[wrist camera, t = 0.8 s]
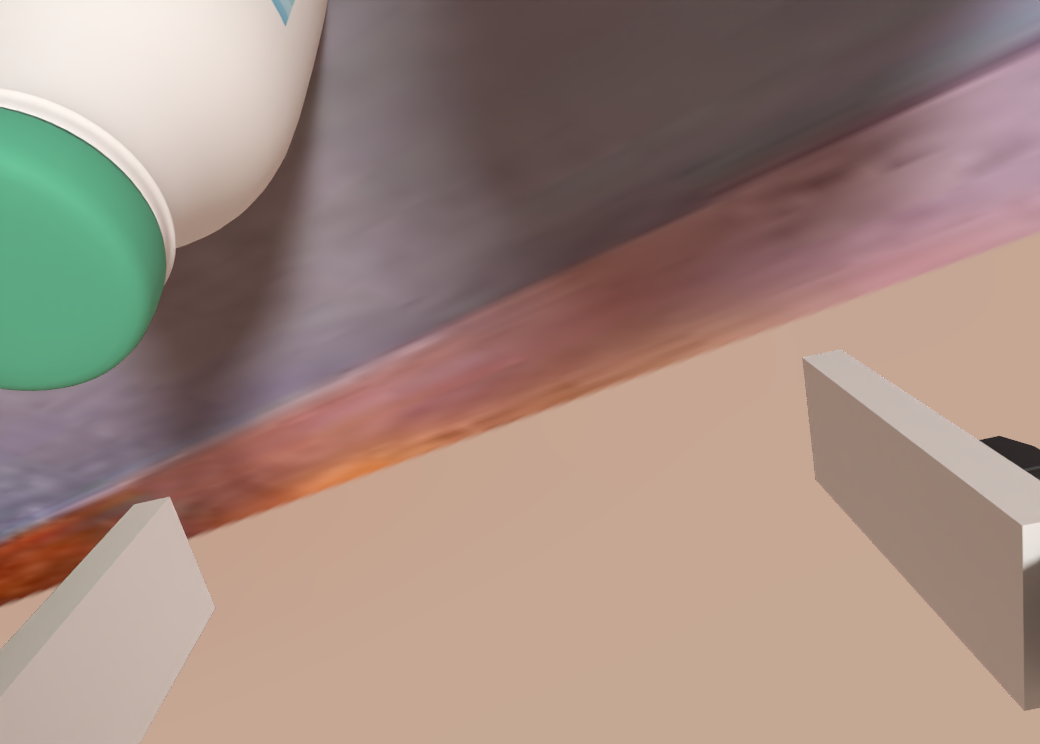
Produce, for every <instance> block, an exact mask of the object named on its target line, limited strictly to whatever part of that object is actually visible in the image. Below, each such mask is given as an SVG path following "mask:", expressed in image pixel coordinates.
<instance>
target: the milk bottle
mask: <svg viewBox="0 0 1040 744" xmlns="http://www.w3.org/2000/svg"><path fill="white" fill-rule="evenodd" d="M327 1H328V0H0V388H1V389H9V390H22V391H38V390H52V389H60V388H65V387H70V386H74V385H78V384H81V383H85V382H87V381H90V380H92V379H95V378H97V377H99V376H101V375H103V374H105V373H106V372H108V371H109V370H111V369H112V368H114V367H115V366H116V365H118V364H119V363H120V362H121V361H122V360H123V359H124V358H125V357H127V356H128V355H129V354H130V353H131V352H132V350H133V349H134V348H135V347H136V346H137V345H138V343H139V342H140V340H141V339H142V338H143V336H144V334H145V332H146V330H147V328H148V326H149V324H150V322H151V320H152V318H153V316H154V314H155V312H156V309H157V306H158V303H159V300H160V297H161V294H162V291H163V288H164V285H165V284H166V282H167V280H168V278H169V276H170V273H171V270H172V267H173V264H174V259H175V252H176V248H179V247H182V246H185V245H187V244H190V243H192V242H194V241H197V240H199V239H201V238H204V237H206V236H208V235H210V234H212V233H214V232H216V231H217V230H219V229H221V228H222V227H223V226H225V225H226V224H228V223H229V222H231V221H232V220H234V219H235V218H236V217H238V216H239V215H240V214H241V213H242V212H244V211H245V210H246V209H247V208H248V207H249V206H250V205H251V204H252V203H253V202H254V201H255V200H256V199H257V198H258V196H259V195H260V194H261V193H262V192H263V191H264V190H265V188H266V187H267V185H268V184H269V183H270V181H271V180H272V178H273V177H274V175H275V173H276V172H277V170H278V168H279V167H280V165H281V163H282V161H283V159H284V158H285V156H286V153H287V151H288V148H289V146H290V143H291V141H292V138H293V135H294V132H295V129H296V126H297V124H298V121H299V118H300V115H301V111H302V107H303V104H304V100H305V96H306V92H307V89H308V85H309V81H310V77H311V73H312V70H313V66H314V62H315V58H316V53H317V49H318V45H319V41H320V37H321V32H322V28H323V24H324V19H325V14H326V8H327Z"/></svg>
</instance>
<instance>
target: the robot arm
mask: <svg viewBox="0 0 1040 744" xmlns="http://www.w3.org/2000/svg"><path fill="white" fill-rule="evenodd" d="M802 359H803V368H804V377H805V387H806V396H807V405H808V414H809V424H810V433H811V443H812V452H813V461H814V471H815V479H816V480H817V482H818V483H819V484H820V485H821V486H822V487H823V488H824V489H825V491H826V492H827V493H828V494H829V495H830V496H831V497H832V498H833V499H834V501H835V502H836V503H837V504H838V505H839V506H840V507H841V508H842V509H843V510H844V512H845V513H846V514H847V515H848V516H849V517H850V518H851V519H852V520H853V521H854V523H855V524H856V525H857V526H858V527H859V528H860V529H861V530H862V531H863V533H864V534H865V535H866V536H867V537H868V538H869V539H870V540H871V541H872V543H873V544H874V545H875V546H876V547H877V548H878V549H879V550H880V551H881V553H882V554H883V555H884V556H885V557H886V558H887V559H888V560H889V561H890V563H892V565H893V566H894V567H895V568H896V569H897V570H898V571H899V572H900V574H901V575H902V576H903V577H904V578H905V579H906V580H907V581H908V582H909V584H910V585H911V586H912V587H913V588H914V589H915V590H916V591H917V592H918V594H919V595H920V596H921V597H922V598H923V599H924V600H925V601H926V602H927V603H928V604H929V606H930V607H931V608H932V609H933V610H934V611H935V612H936V613H937V615H938V616H939V617H940V618H941V619H942V620H943V621H944V622H945V623H946V624H947V626H949V628H950V629H951V630H952V631H953V632H954V633H955V634H956V636H957V637H958V638H959V639H960V640H961V641H962V642H963V643H964V644H965V646H966V647H968V649H969V650H970V651H971V652H972V653H973V654H974V656H975V657H976V658H977V659H978V660H979V661H980V662H981V663H982V664H983V666H984V667H985V668H986V669H987V670H988V671H989V672H990V673H991V674H992V675H993V676H994V678H995V679H996V680H997V681H998V682H999V683H1000V684H1001V685H1002V687H1003V688H1004V689H1005V690H1006V691H1007V692H1008V693H1009V694H1010V695H1011V697H1012V698H1014V700H1015V701H1016V702H1017V703H1018V704H1019V705H1020V706H1021V708H1022V709H1023V710H1031V709H1035V708H1040V450H1039V449H1038V448H1036V447H1034V446H1031V445H1028V444H1024V443H1021V442H1018V441H1014V440H1011V439H1008V438H1004V437H1001V436H997V437H993V438H988V439H983V440H978V439H976V438H975V437H973V436H972V435H970V434H968V433H967V432H965V431H964V430H962V429H961V428H959V427H958V426H956V425H955V424H953V423H952V422H950V421H948V420H947V419H946V418H944V417H942V416H941V415H940V414H938V413H937V412H935V411H934V410H932V409H930V408H929V407H927V406H926V405H924V404H923V403H921V402H920V401H918V400H917V399H915V398H914V397H912V396H911V395H909V394H908V393H906V392H905V391H903V390H901V389H900V388H898V387H897V386H895V385H894V384H892V383H891V382H889V381H888V380H886V379H885V378H883V377H882V376H880V375H879V374H877V373H876V372H874V371H873V370H871V369H870V368H868V367H867V366H865V365H864V364H862V363H861V362H859V361H857V360H856V359H854V358H853V357H851V356H850V355H848V354H847V353H845V352H844V351H842V350H840V349H839V350H835V351H831V352H826V353H821V354H817V355H812V356H808V357H803V358H802ZM214 610H215V605H214V603H213V601H212V598H211V596H210V593H209V591H208V588H207V586H206V584H205V581H204V579H203V576H202V574H201V571H200V569H199V567H198V565H197V562H196V560H195V557H194V555H193V552H192V550H191V547H190V545H189V542H188V540H187V537H186V535H185V533H184V530H183V528H182V525H181V523H180V520H179V518H178V516H177V513H176V511H175V508H174V506H173V503H172V501H171V499H170V497H166V498H162V499H157V500H153V501H148V502H144V503H139V504H134V505H133V506H132V507H131V508H130V509H129V510H128V512H127V513H126V514H125V515H124V516H123V517H122V518H121V519H120V520H119V521H118V522H117V523H116V525H115V526H114V527H113V528H112V529H111V530H110V531H109V532H108V533H107V534H106V535H105V537H104V538H103V539H102V540H101V541H100V542H99V543H98V544H97V545H96V546H95V547H94V548H93V550H92V551H91V552H90V553H89V554H88V555H87V556H86V557H85V558H84V559H83V560H82V561H81V563H80V564H79V565H78V566H77V567H76V568H75V569H74V570H73V571H72V572H71V573H70V575H69V576H68V577H67V578H66V579H65V580H64V581H63V582H62V583H61V584H60V585H59V586H58V588H57V589H56V590H55V591H54V592H53V593H52V594H51V595H50V596H49V597H48V598H47V599H46V601H45V602H44V603H43V604H42V605H41V606H40V607H39V608H38V609H37V611H35V612H34V614H33V615H32V616H31V617H30V618H29V619H28V620H27V621H26V622H25V623H24V624H23V626H22V627H21V628H20V629H19V630H18V631H17V632H16V633H15V634H14V635H13V637H11V639H10V640H9V641H8V642H7V643H6V644H5V645H4V646H3V647H2V648H1V650H0V744H140V742H141V740H142V739H143V737H144V735H145V733H146V731H147V730H148V728H149V726H150V724H151V723H152V721H153V719H154V717H155V715H156V714H157V712H158V710H159V708H160V706H161V705H162V703H163V701H164V699H165V698H166V696H167V694H168V692H169V690H170V689H171V687H172V685H173V683H174V681H175V680H176V678H177V676H178V674H179V673H180V671H181V669H182V667H183V665H184V664H185V662H186V660H187V658H188V656H189V655H190V653H191V651H192V649H193V648H194V646H195V644H196V642H197V640H198V639H199V637H200V635H201V633H202V631H203V630H204V628H205V626H206V624H207V622H208V621H209V619H210V617H211V615H212V614H213V612H214Z"/></svg>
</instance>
